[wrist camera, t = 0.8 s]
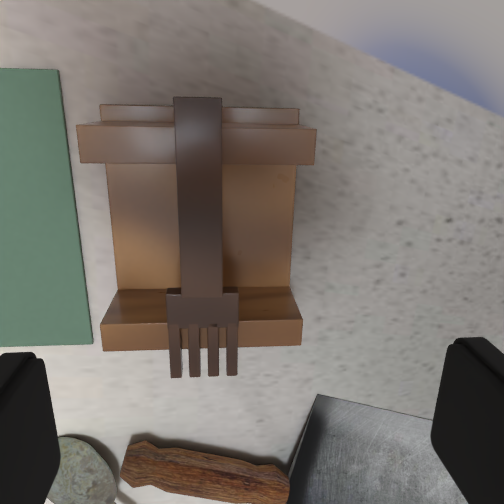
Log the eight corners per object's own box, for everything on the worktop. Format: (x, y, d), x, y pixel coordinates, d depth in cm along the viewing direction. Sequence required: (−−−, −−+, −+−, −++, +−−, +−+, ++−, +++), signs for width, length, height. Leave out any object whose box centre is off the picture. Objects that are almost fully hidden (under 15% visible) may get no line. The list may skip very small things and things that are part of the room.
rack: (102, 104, 27) (73, 104, 21) (297, 108, 28) (318, 110, 23) (123, 319, 32) (104, 365, 27) (285, 315, 34) (300, 358, 28)
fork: (156, 96, 22) (152, 96, 20) (240, 98, 22) (241, 98, 20) (171, 369, 27) (169, 384, 26) (237, 366, 28) (238, 381, 26)
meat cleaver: (494, 433, 40) (523, 467, 36) (442, 515, 43) (463, 555, 40) (153, 355, 34) (145, 386, 30) (123, 457, 38) (113, 497, 34)
